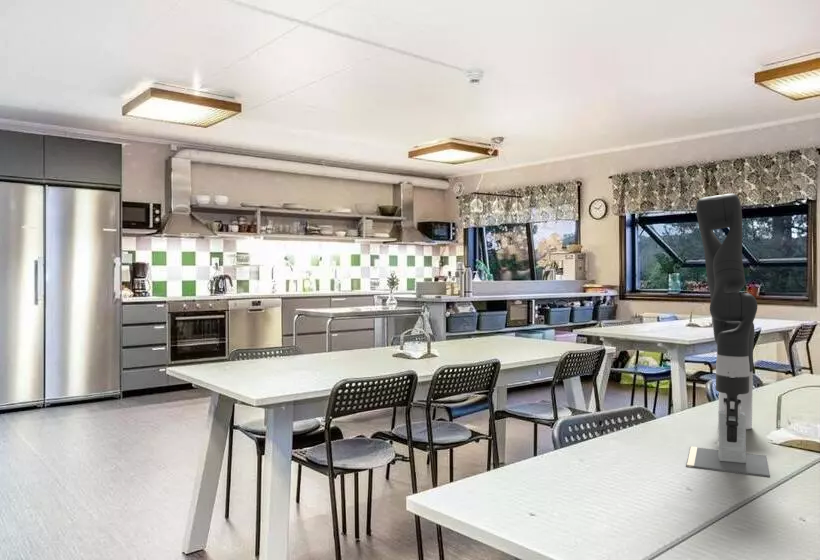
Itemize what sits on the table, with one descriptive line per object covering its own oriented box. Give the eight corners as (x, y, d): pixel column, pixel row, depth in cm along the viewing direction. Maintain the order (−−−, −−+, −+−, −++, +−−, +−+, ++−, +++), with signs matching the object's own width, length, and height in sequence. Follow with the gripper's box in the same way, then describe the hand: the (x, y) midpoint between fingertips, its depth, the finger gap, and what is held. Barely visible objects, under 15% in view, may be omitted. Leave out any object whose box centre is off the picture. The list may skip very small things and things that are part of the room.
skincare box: (744, 459, 164) (744, 411, 164) (745, 463, 160) (746, 415, 160) (717, 456, 166) (718, 409, 166) (718, 461, 162) (719, 413, 162)
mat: (690, 448, 175) (690, 446, 175) (766, 456, 168) (766, 454, 167) (685, 466, 159) (685, 464, 159) (770, 477, 151) (770, 474, 151)
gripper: (716, 368, 171) (715, 429, 171) (715, 376, 158) (714, 443, 158) (748, 370, 167) (748, 433, 168) (750, 378, 154) (749, 446, 155)
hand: (731, 437), depth 163 cm, fingers open, 8 cm apart
